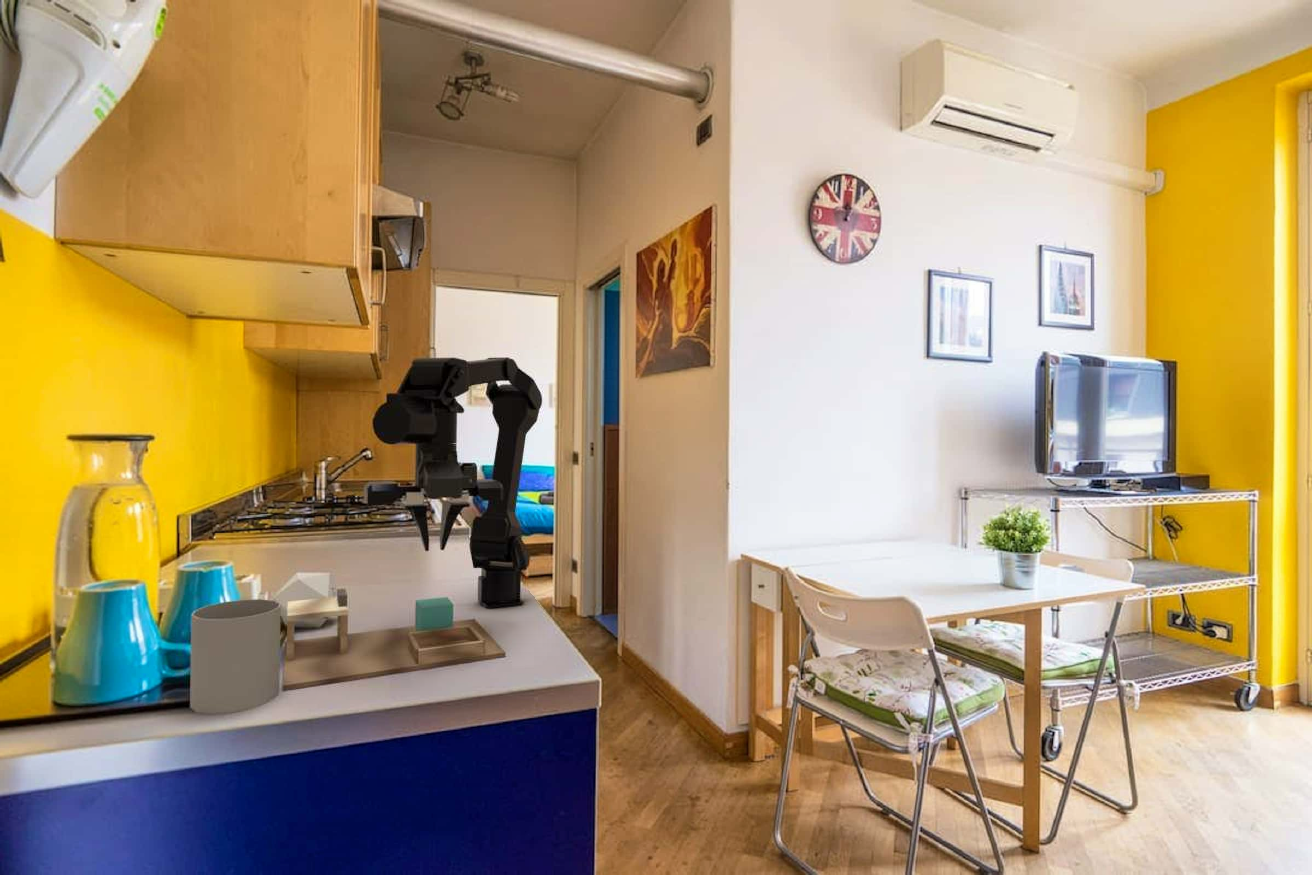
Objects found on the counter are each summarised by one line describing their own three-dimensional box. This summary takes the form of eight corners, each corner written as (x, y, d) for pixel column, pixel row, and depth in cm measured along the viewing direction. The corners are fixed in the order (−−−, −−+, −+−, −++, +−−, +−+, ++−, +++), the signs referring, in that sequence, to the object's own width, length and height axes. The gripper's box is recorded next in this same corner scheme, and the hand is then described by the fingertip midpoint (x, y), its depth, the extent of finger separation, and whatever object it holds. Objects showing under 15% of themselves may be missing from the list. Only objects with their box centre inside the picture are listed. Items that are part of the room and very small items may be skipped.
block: (446, 626, 98) (446, 597, 98) (452, 635, 94) (453, 604, 94) (415, 630, 96) (415, 600, 96) (420, 639, 92) (420, 607, 92)
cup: (296, 687, 76) (297, 602, 76) (236, 717, 68) (238, 622, 68) (235, 680, 78) (236, 597, 78) (170, 708, 70) (172, 615, 70)
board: (474, 622, 103) (474, 607, 103) (505, 656, 88) (505, 638, 88) (284, 646, 90) (285, 628, 90) (283, 690, 75) (283, 669, 75)
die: (293, 641, 94) (339, 584, 97) (249, 608, 96) (295, 553, 98) (320, 644, 102) (361, 591, 105) (278, 613, 103) (320, 562, 106)
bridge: (343, 635, 93) (344, 585, 93) (347, 652, 86) (348, 598, 86) (287, 642, 89) (287, 590, 89) (286, 660, 83) (287, 603, 83)
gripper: (372, 444, 83) (370, 566, 84) (515, 445, 92) (513, 555, 93) (364, 442, 93) (362, 551, 93) (494, 443, 102) (492, 542, 102)
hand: (434, 550), depth 95 cm, fingers closed
